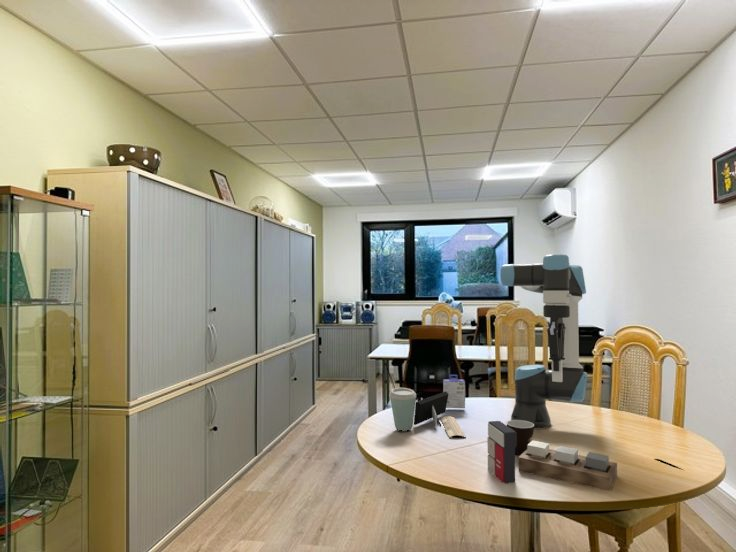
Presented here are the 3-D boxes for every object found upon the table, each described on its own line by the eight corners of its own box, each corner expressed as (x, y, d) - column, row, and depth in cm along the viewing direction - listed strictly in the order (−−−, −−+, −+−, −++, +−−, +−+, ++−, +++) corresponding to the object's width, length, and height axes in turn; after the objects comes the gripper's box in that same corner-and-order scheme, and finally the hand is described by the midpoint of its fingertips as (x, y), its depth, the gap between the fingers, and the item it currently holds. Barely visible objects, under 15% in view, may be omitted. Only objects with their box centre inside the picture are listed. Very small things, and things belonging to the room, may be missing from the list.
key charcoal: (585, 475, 125) (585, 457, 125) (589, 469, 129) (589, 451, 129) (605, 479, 122) (605, 461, 122) (609, 473, 126) (608, 455, 126)
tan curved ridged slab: (465, 440, 164) (465, 435, 164) (446, 440, 164) (446, 435, 164) (454, 420, 187) (454, 416, 188) (437, 420, 188) (437, 416, 188)
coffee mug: (521, 461, 142) (520, 429, 142) (501, 452, 150) (500, 422, 150) (546, 454, 147) (546, 424, 147) (526, 446, 155) (526, 417, 155)
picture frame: (445, 413, 196) (423, 407, 200) (449, 392, 195) (427, 386, 199) (436, 431, 176) (411, 424, 179) (440, 407, 175) (415, 400, 178)
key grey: (555, 468, 130) (555, 450, 130) (560, 462, 134) (559, 445, 134) (574, 472, 127) (573, 454, 127) (578, 466, 131) (578, 449, 131)
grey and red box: (486, 471, 135) (485, 421, 135) (499, 470, 135) (499, 420, 136) (502, 487, 124) (502, 433, 124) (517, 486, 124) (516, 432, 125)
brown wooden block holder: (518, 474, 132) (518, 457, 133) (531, 461, 142) (531, 445, 142) (610, 496, 118) (609, 477, 118) (617, 480, 128) (617, 463, 128)
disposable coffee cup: (422, 428, 175) (421, 389, 176) (406, 435, 167) (405, 394, 167) (400, 422, 182) (400, 385, 182) (383, 429, 174) (383, 390, 174)
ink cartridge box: (464, 405, 207) (464, 374, 208) (465, 409, 202) (465, 376, 202) (443, 405, 209) (442, 373, 209) (443, 408, 203) (443, 376, 203)
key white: (527, 461, 134) (527, 444, 135) (532, 456, 138) (532, 440, 138) (544, 465, 131) (544, 448, 131) (549, 460, 135) (549, 443, 135)
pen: (692, 480, 128) (692, 475, 128) (650, 462, 141) (650, 456, 141) (697, 480, 128) (696, 474, 128) (654, 461, 142) (654, 456, 142)
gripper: (564, 305, 132) (565, 386, 131) (573, 304, 142) (574, 379, 141) (538, 304, 136) (538, 383, 135) (549, 303, 146) (549, 376, 146)
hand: (557, 381), depth 138 cm, fingers closed
